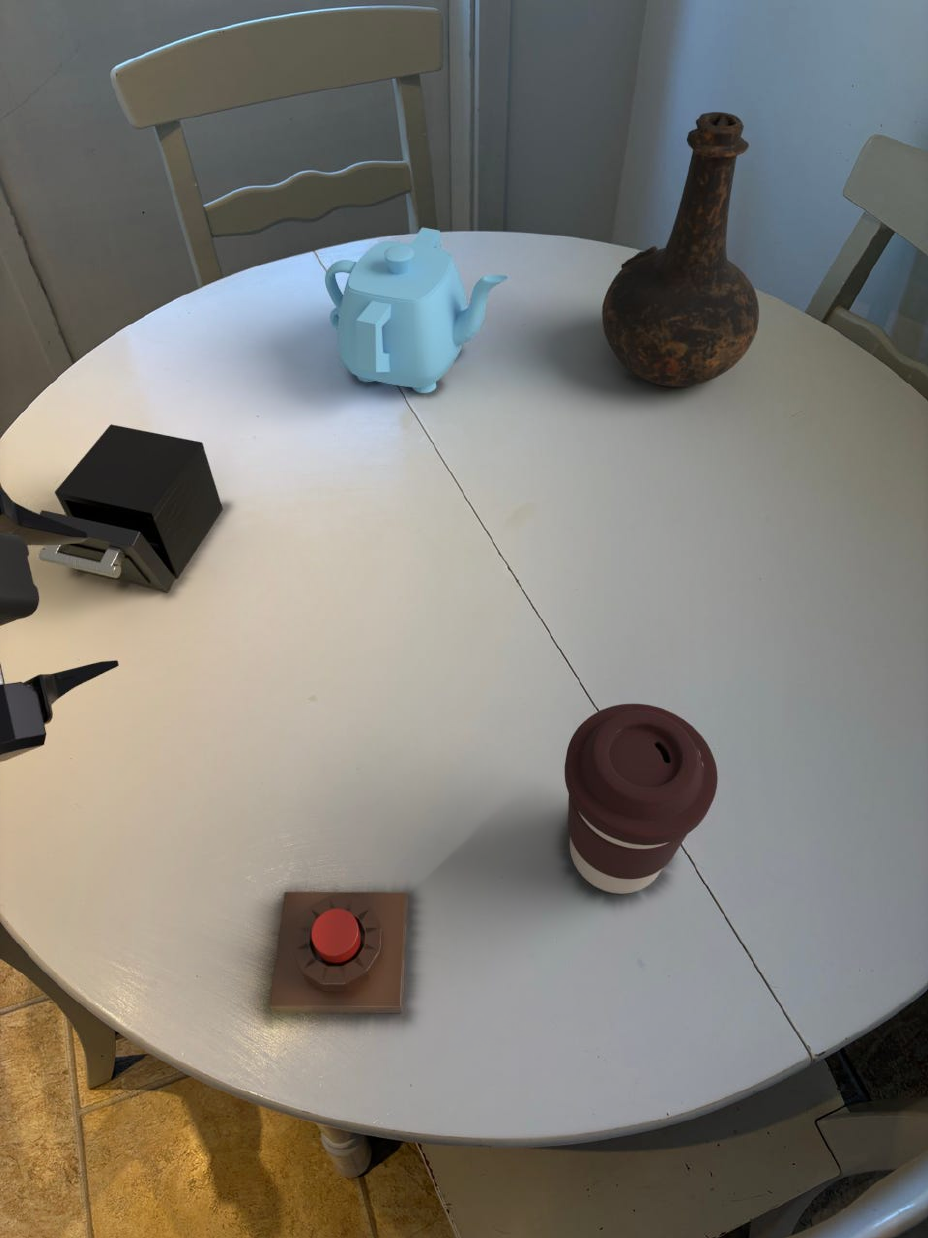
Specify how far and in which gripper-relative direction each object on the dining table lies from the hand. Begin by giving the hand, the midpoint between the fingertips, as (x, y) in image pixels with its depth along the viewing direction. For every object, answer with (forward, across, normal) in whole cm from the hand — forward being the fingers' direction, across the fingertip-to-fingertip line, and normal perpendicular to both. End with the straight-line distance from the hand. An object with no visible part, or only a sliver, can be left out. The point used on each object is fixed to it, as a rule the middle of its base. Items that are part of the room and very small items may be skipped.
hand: (100, 600), depth 61 cm
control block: (+10, -29, -4) cm, 31 cm away
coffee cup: (+27, -28, -18) cm, 42 cm away
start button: (+8, -27, -5) cm, 29 cm away
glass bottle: (+69, +20, -19) cm, 74 cm away
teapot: (+51, +28, +4) cm, 58 cm away
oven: (+20, +12, +20) cm, 31 cm away
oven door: (+15, +7, +20) cm, 26 cm away
